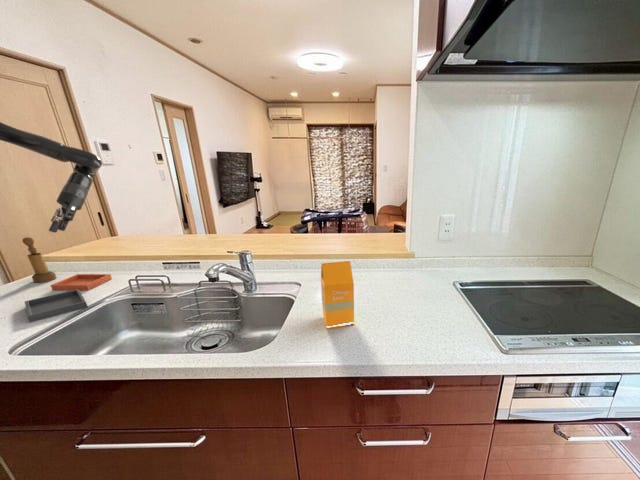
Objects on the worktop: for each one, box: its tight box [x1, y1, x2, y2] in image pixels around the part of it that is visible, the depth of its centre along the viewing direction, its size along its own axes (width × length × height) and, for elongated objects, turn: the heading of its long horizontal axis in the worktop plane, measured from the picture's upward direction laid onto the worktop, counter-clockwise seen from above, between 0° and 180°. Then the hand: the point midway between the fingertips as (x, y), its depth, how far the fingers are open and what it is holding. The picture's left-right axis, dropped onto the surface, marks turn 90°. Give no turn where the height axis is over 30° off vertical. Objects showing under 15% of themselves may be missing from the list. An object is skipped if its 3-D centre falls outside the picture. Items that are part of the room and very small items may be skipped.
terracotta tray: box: [49, 273, 113, 291], centre depth 119 cm, size 14×12×2 cm
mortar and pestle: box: [21, 236, 57, 284], centre depth 119 cm, size 7×6×18 cm
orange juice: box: [320, 260, 355, 330], centre depth 91 cm, size 8×9×20 cm
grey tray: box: [24, 289, 89, 323], centre depth 101 cm, size 16×14×2 cm
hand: (56, 230), depth 119 cm, fingers open, 8 cm apart
